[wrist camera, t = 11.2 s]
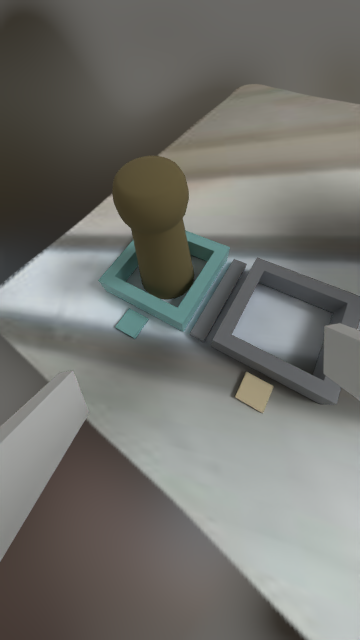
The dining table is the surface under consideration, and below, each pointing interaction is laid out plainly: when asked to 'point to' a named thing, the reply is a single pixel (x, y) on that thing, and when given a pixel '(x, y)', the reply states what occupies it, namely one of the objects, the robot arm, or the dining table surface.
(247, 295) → the panel
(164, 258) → the cork
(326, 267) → the dining table surface
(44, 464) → the robot arm
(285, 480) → the dining table surface
